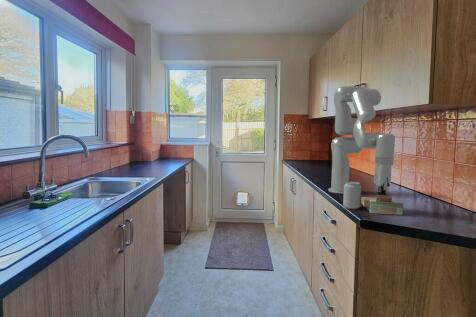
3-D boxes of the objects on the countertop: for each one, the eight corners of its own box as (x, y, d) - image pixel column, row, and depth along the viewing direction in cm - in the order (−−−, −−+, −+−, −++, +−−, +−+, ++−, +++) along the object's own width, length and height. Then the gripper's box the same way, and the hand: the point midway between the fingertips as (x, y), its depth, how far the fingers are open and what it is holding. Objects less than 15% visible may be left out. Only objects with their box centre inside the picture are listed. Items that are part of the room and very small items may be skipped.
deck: (361, 203, 152) (361, 193, 151) (389, 204, 149) (389, 194, 149) (370, 213, 134) (371, 201, 133) (402, 214, 132) (403, 203, 131)
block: (376, 203, 139) (376, 194, 139) (387, 204, 138) (388, 195, 138) (379, 206, 134) (379, 197, 134) (391, 206, 133) (391, 197, 133)
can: (349, 210, 138) (350, 184, 137) (339, 206, 146) (340, 181, 144) (363, 209, 140) (365, 183, 139) (353, 205, 148) (354, 180, 146)
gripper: (371, 159, 146) (368, 196, 149) (380, 163, 132) (377, 204, 134) (387, 159, 145) (384, 197, 147) (398, 163, 131) (395, 205, 133)
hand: (381, 200), depth 141 cm, fingers closed
